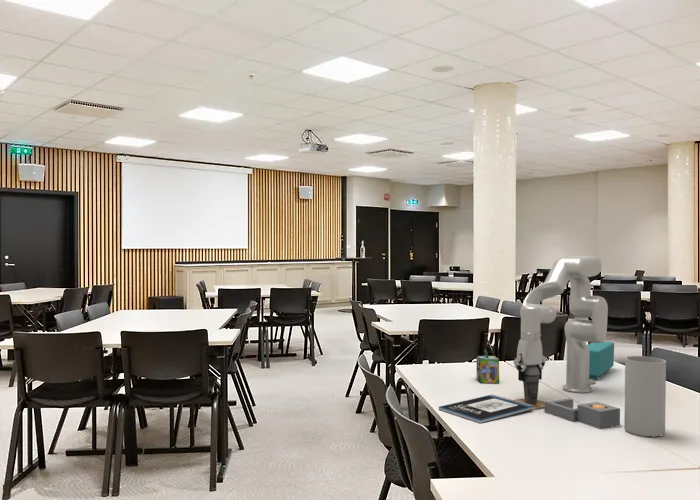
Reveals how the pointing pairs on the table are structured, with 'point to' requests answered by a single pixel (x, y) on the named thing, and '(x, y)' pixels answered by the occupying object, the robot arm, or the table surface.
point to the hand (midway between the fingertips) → (530, 379)
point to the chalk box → (487, 369)
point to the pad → (535, 406)
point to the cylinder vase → (645, 395)
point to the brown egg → (598, 406)
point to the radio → (600, 358)
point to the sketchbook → (486, 408)
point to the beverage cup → (531, 384)
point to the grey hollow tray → (584, 413)
